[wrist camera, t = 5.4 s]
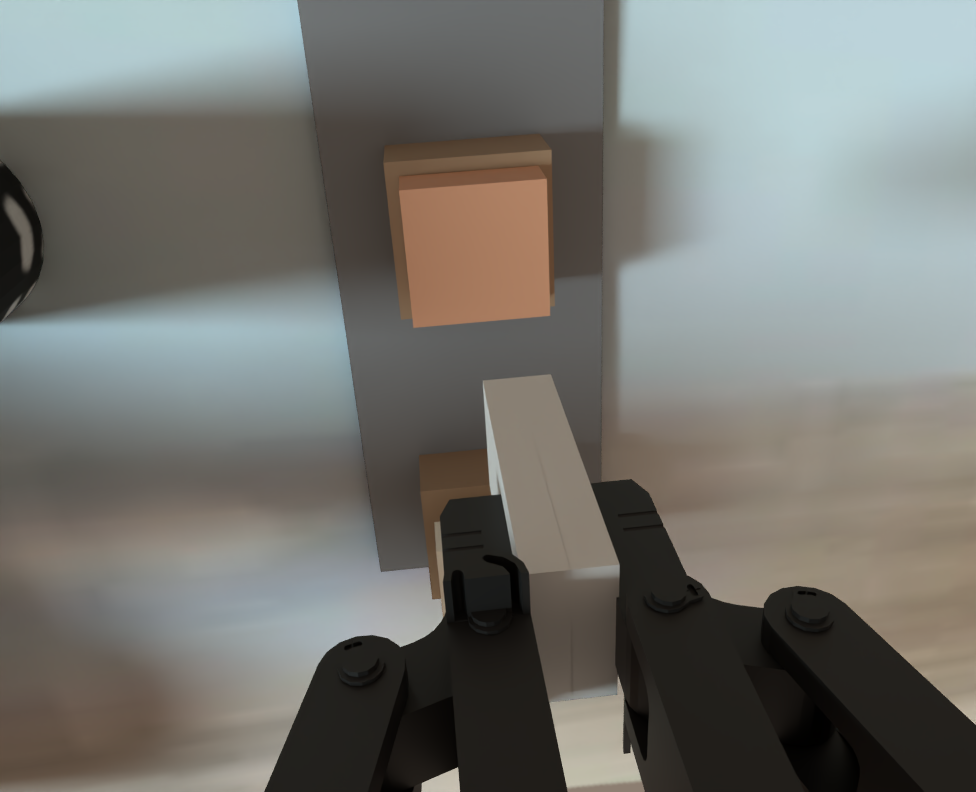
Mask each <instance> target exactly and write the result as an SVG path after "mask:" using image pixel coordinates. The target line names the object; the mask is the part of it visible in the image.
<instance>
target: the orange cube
mask: <svg viewBox="0 0 976 792" xmlns="http://www.w3.org/2000/svg"><path fill="white" fill-rule="evenodd" d="M399 196H400V205H401V215H402V224H403V234H404V243H405V253H406V262H407V272H408V281H409V290H410V300H411V309H412V319H413V328H418V327H429V326H440V325H452V324H463V323H474V322H486V321H497V320H508V319H520V318H531V317H542V316H550V286H549V245H548V205H547V178H546V177H545V175H544V174H543V172H542V170H541V169H540V167H539V166H526V167H513V168H500V169H488V170H475V171H462V172H450V173H437V174H424V175H412V176H399Z"/></svg>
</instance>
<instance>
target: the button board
mask: <svg viewBox="0 0 976 792" xmlns="http://www.w3.org/2000/svg"><path fill="white" fill-rule="evenodd" d="M297 2H298V9H299V15H300V22H301V29H302V36H303V43H304V50H305V56H306V63H307V70H308V77H309V84H310V91H311V97H312V104H313V111H314V118H315V125H316V132H317V138H318V145H319V152H320V159H321V166H322V173H323V180H324V186H325V193H326V200H327V207H328V214H329V221H330V227H331V234H332V241H333V248H334V255H335V262H336V268H337V275H338V282H339V289H340V296H341V303H342V309H343V316H344V323H345V330H346V337H347V344H348V350H349V357H350V364H351V371H352V378H353V385H354V391H355V398H356V405H357V412H358V419H359V426H360V432H361V439H362V446H363V453H364V460H365V467H366V473H367V480H368V487H369V494H370V501H371V508H372V514H373V521H374V528H375V535H376V542H377V549H378V555H379V562H380V569H381V572H384V571H394V570H404V569H413V568H423V567H429V573H430V581H431V590H432V599H441V593H440V583H439V574H438V565H437V555H436V541H435V525H434V522H439V521H440V515H441V513H442V512H443V510H444V508H445V506H446V504H447V503H448V501H449V499H459V498H469V497H479V496H489V495H491V490H490V483H489V468H488V453H487V438H486V423H485V408H484V393H483V381H484V380H494V379H505V378H516V377H526V376H537V375H548V374H551V376H552V379H553V382H554V385H555V387H556V390H557V393H558V396H559V398H560V401H561V404H562V407H563V409H564V412H565V415H566V418H567V420H568V423H569V426H570V429H571V432H572V434H573V437H574V440H575V443H576V445H577V448H578V451H579V454H580V456H581V459H582V462H583V465H584V467H585V470H586V473H587V476H588V478H589V481H590V483H600V482H601V384H602V211H603V38H604V0H297ZM526 166H539V167H540V169H541V170H542V172H543V174H544V175H545V177H546V178H547V205H548V245H549V286H550V316H542V317H531V318H520V319H508V320H497V321H486V322H474V323H463V324H452V325H440V326H429V327H418V328H413V319H412V309H411V300H410V290H409V281H408V272H407V262H406V253H405V243H404V234H403V224H402V215H401V205H400V196H399V176H412V175H424V174H437V173H450V172H462V171H475V170H488V169H500V168H513V167H526Z"/></svg>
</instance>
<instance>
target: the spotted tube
mask: <svg viewBox="0 0 976 792" xmlns="http://www.w3.org/2000/svg"><path fill="white" fill-rule="evenodd" d="M43 248H44V241H43V236H42V230H41V225H40V221H39V218H38V216H37V213H36V211H35V208H34V205H33V203H32V201H31V199H30V198H29V196H28V194H27V193H26V191H25V190H24V188H23V186H22V185H21V183H20V182H19V181H18V179H17V178H16V177H15V176H14V175H13V174H12V172H11V171H10V170H9V169H8V168H7V167H6V166H5V164H3V163H2V162H1V161H0V323H1V322H2V321H3V320H4V319H5V318H6V317H7V316H8V315H9V314H11V313H12V312H13V311H14V310H15V309H16V308H17V307H18V306H19V305H20V304H21V303H22V302H23V301H24V300H25V299H26V297H27V296H28V295H29V294H30V292H31V291H32V289H33V287H34V285H35V284H36V282H37V280H38V278H39V274H40V270H41V267H42V263H43Z"/></svg>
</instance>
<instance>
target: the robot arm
mask: <svg viewBox="0 0 976 792" xmlns="http://www.w3.org/2000/svg"><path fill="white" fill-rule="evenodd" d="M483 393H484V408H485V423H486V438H487V453H488V468H489V483H490V490H491V495H489V496H479V497H469V498H459V499H449V501H448V503H447V504H446V506H445V508H444V510H443V512H442V513H441V515H440V528H441V541H442V554H443V567H444V578H443V590H444V599H445V609H446V612H445V615H444V617H443V619H442V621H441V623H440V624H439V625H438V626H437V627H436V629H435V630H434V631H432V632H431V633H430V634H428V635H427V636H426V637H424V638H422V639H420V640H418V641H416V642H414V643H411V644H408V645H406V646H403V647H399V646H398V645H397V644H395V643H394V642H392V641H391V640H389V639H388V638H383V637H379V636H374V635H370V636H357V637H354V638H351V639H348V640H345V641H343V642H340V643H339V644H337V645H336V646H334V647H333V648H332V649H330V650H329V651H328V652H327V653H326V654H325V655H324V657H323V658H322V660H321V661H320V663H319V664H318V666H317V669H316V671H315V674H314V676H313V678H312V681H311V683H310V685H309V688H308V690H307V692H306V695H305V697H304V699H303V702H302V704H301V707H300V709H299V711H298V714H297V716H296V718H295V721H294V723H293V725H292V728H291V730H290V733H289V735H288V737H287V740H286V742H285V744H284V747H283V749H282V751H281V754H280V756H279V758H278V761H277V763H276V766H275V768H274V770H273V773H272V775H271V777H270V780H269V782H268V784H267V787H266V789H265V792H421V787H422V782H425V781H427V780H429V779H432V778H434V777H436V776H439V775H441V774H443V773H445V772H448V771H450V770H452V769H455V768H457V767H458V770H459V782H460V792H567V787H566V782H565V777H564V772H563V767H562V762H561V758H560V753H559V748H558V743H557V738H556V733H555V728H554V724H553V719H552V714H551V709H550V704H549V702H557V701H566V700H575V699H583V698H592V697H601V696H609V695H617V680H618V676H619V679H620V682H621V686H622V689H623V692H624V724H623V752H624V754H626V753H630V747H631V745H632V749H633V752H634V755H635V759H636V762H637V766H638V769H639V773H640V776H641V779H642V783H643V786H644V790H645V792H976V725H975V724H974V723H973V722H972V721H971V720H970V719H969V718H968V717H966V716H965V715H964V714H963V713H962V712H961V711H960V710H959V709H958V708H957V707H956V706H955V705H954V704H952V703H951V702H950V701H949V700H948V699H947V698H946V697H945V696H944V695H943V694H942V693H941V692H940V691H939V690H937V689H936V688H935V687H934V686H933V685H932V684H931V683H930V682H929V681H928V680H927V679H926V678H925V677H923V676H922V675H921V674H920V673H919V672H918V671H917V670H916V669H915V668H914V667H913V666H912V665H911V664H910V663H908V662H907V661H906V660H905V659H904V658H903V657H902V656H901V655H900V654H899V653H898V652H897V651H896V650H894V649H893V648H892V647H891V646H890V645H889V644H888V643H887V642H886V641H885V640H884V639H883V638H882V637H881V636H879V635H878V634H877V633H876V632H875V631H874V630H873V629H872V628H871V627H870V626H869V625H868V624H867V623H865V622H864V621H863V620H862V619H861V618H860V617H859V616H858V615H857V614H856V613H855V612H854V611H853V610H851V609H850V608H849V607H848V606H847V605H846V604H845V603H844V602H842V601H841V600H839V599H838V598H836V597H835V596H833V595H832V594H830V593H827V592H824V591H821V590H819V589H816V588H809V587H801V586H795V587H788V588H782V589H780V590H778V591H776V592H774V593H772V594H770V596H769V597H768V599H767V600H766V602H765V603H764V608H757V607H749V606H741V605H735V604H730V603H725V602H722V601H719V600H716V599H714V598H711V596H710V594H709V593H708V591H707V590H706V589H705V588H704V586H703V585H702V584H701V583H699V582H698V581H696V580H694V579H693V578H691V577H689V576H687V575H686V572H685V570H684V568H683V566H682V564H681V562H680V560H679V557H678V555H677V553H676V551H675V549H674V547H673V544H672V542H671V540H670V538H669V536H668V534H667V531H666V529H665V528H664V527H663V523H662V521H661V518H660V516H659V514H657V510H656V508H655V506H654V503H653V501H652V499H651V497H650V495H649V493H648V492H647V491H645V490H644V489H643V488H642V487H640V486H639V485H638V484H637V483H635V482H634V481H633V480H632V479H630V480H620V481H610V482H600V483H590V481H589V478H588V476H587V473H586V470H585V467H584V465H583V462H582V459H581V456H580V454H579V451H578V448H577V445H576V443H575V440H574V437H573V434H572V432H571V429H570V426H569V423H568V420H567V418H566V415H565V412H564V409H563V407H562V404H561V401H560V398H559V396H558V393H557V390H556V387H555V385H554V382H553V379H552V376H551V374H548V375H537V376H526V377H516V378H505V379H494V380H484V381H483Z"/></svg>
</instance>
